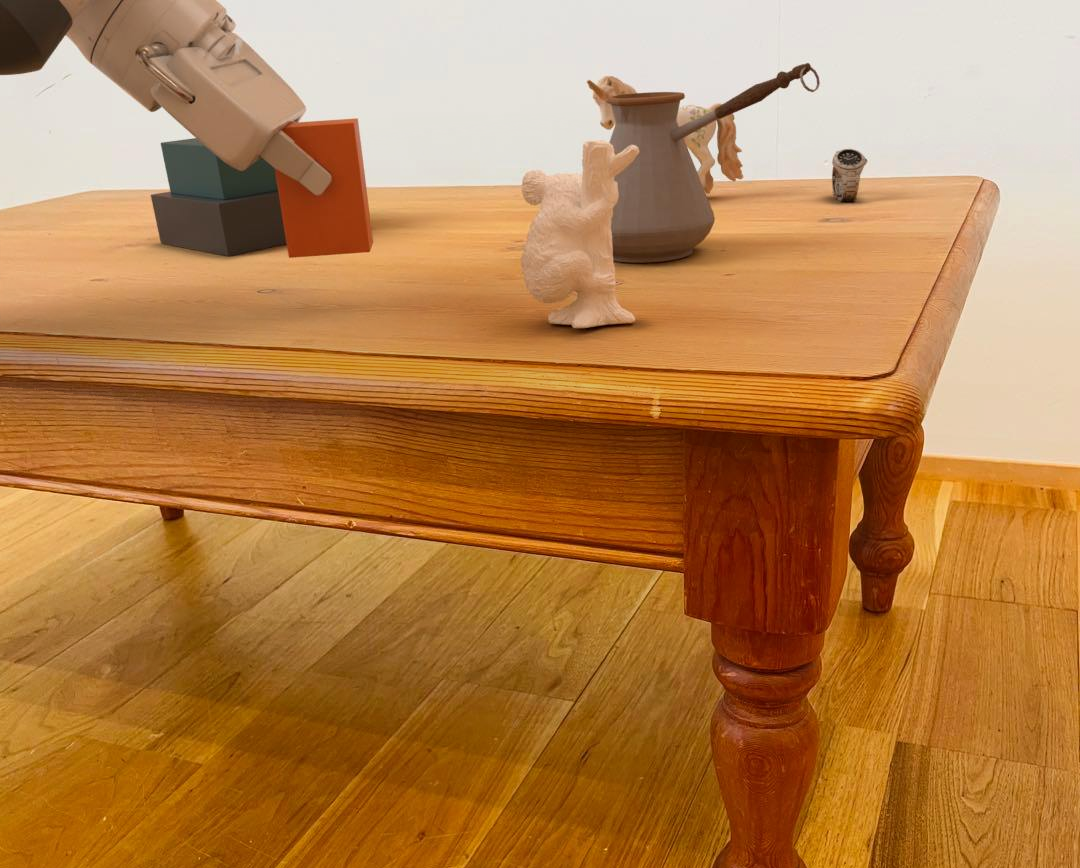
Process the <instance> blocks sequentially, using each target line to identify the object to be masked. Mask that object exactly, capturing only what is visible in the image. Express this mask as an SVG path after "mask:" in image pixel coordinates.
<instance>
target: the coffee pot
mask: <svg viewBox="0 0 1080 868" xmlns="http://www.w3.org/2000/svg"><path fill="white" fill-rule="evenodd" d="M809 72H812V73H813V74H814V77H815V78H816V85H815V88H814V89H812V88H810V87H809V86H808V85H807V84H806V83H805V81H804V76H805V75H807V74H808V73H809ZM799 79H800V83H801V84H802V87H803V88H804V89H805V90H806V91H807V92H811V93H815V92H816V91H817V90H819V87H820V84H821V83H820V76H819V75H818V72H817V71H816V70H815V69H814V68H813V66H812V65H811V64H810V63H809V62H806V63H804V64H803V63H802V64H798V65H796V66H794V67H792V69H791V70H790V71H787V72H786V71H779V72H778V73H777V75H776V77H774V78H772V79H767V80H765V81H763V82H759V83H756V84H754V85H752V86H751V87H749V88H747V89H746V90H744V91H742V92H741V93H738V94H737V95H736V96H734V97H732V98H731V99H729V100H727V101H725V102H723V103H721V104H722V105H721V106H719V107H717V108H716V109H715V110H713V111H711V112H709V113H707V114H705V115H703V116H701V117H699V118H697V119H695V120H693V121H691V122H688V123H686V124H684V125H682V126H680V127H679V126H678V123H677V114H678V109H679V107H680V104H681V101H682V100H684V99H685V98H686V95H685V93H684V92H680V91H679V92H677V91H653V92H651V91H650V92H649V91H648V92H637V93H634V94H625V95H617V96H612V97H608V98H607V103H609V104H611V106H612V110H613V114H614V118H615V124H614V126H613V130H612V134H611V136H610V139H609V141H608V142H609V143H610V144H611V145H613V148H614V153H615V155H617V154H619V153H621V152H622V151H623V150H624V149H626V148H627V147H628V146H630V145H635V146H637V147H638V148H639V154H638V155H637V156H636V157H635V159H634V160H633V162H631V163H630V164H629V165H628V166H627V167H626V168H625V169H624V170H623V171H622V172H620V173H619V174H617V175H616V176H615V177H614V178H615V179H614V181H616V182H617V183H618V194H619V197H618V201H617V203H616V205H614V207H613V216H612V218H611V232H612V247H613V262H614V261H615V262H621V263H622V262H623V263H659V262H668V261H674V260H679V259H682V258H685V257H686V258H687V257H688V256H690V255H692V254H693V252H694V251H693V249H694V248H695V247H697V246H699V245H700V244H701V243H702V242H703V241H704V240H705V239H706V238H707V236H708V235H709V234H710V233H711V231H712V228H713V226H714V224H715V220H716V218H715V217H716V216H715V213H714V211H713V208H712V205H711V202H710V201H709V199H708V196H707V193H706V192H705V190H704V188H703V185H702V183H701V180H700V178H699V175H698V173H697V172H698V170H697V168H696V165H695V163H694V161H693V158H692V155H691V152H690V150H689V148H688V147H687V146H686V143H685V141H684V137H686V136H688V135H690V134H692V133H693V132H695V131H697V130H699V129H701V128H702V127H704V126H706V125H708V124H710V123H712V122H713V121H715V120H717V119H721V118H723V117H726V116H728V115H730V114H733V115H734V114H735V113H737V112H739V111H742V110H744V109H747V108H749V107H750V106H753V105H756V104H758V103H760V102H762V101H763V100H765V99H766V98H767V97H769V96H770V95H771V94H773V93H774V92H776V91H777V90H779V89H783V90H784V89H787V88H788V87H789V86H790V84H791V82H793V81H794V80H799Z"/></svg>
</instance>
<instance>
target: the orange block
mask: <svg viewBox="0 0 1080 868" xmlns="http://www.w3.org/2000/svg"><path fill="white" fill-rule="evenodd" d="M359 124H360V123H359V119H358V118H357V117H356V118H343V119H342V118H341V119H328V120H326V119H325V120H313V121H299V122H296V123H290V124H289V125H287V126H286V127H284V128H283V129H281V130H282V131H283V132H284V133H285V134H286V135H288V136H289V137H290V138H291V139H292V140H293V141H294V143H295V144H296V145H297V146H298V147H300V148H301V149H302V150H303V151H304V152H306V153H307V154H308V155H309V156H310V157H312V158H313V159H314V160H315V159H316V160H317V161H319V162H320V163H321V164H322V165H323V166H324V167H325V168H327V169H328V170H329V171H330V172H331V173H332V175H333V179H332V182H331V183H330V184H329V186H328V187H327V188H326V189H325V191H324V192H323V193H322V194H321V195H314V194H313V193H312V192H310V191H309V190H308V189H307V188H306V187H304V186H303V185H302V184H301V183H300V182H298V181H296V180H294V179H293V178H291V177H289V176H287V175H286V174H284V173H282V172H280V171H279V170H277V169H275V173H276V180H277V186H278V192H279V199H280V205H281V211H282V218H283V224H284V230H285V237H286V243H287V244H286V248H287V256H288V258H289V259H292V258H293V259H294V258H305V257H319V256H321V257H323V256H333V255H335V256H336V255H347V254H363V253H364V254H365V253H370V252H371V250H372V247H373V244H374V237H373V231H372V221H371V214H370V205H369V198H368V191H367V190H368V187H367V183H366V182H367V181H366V173H365V165H364V157H363V149H362V141H361V131H360V125H359Z"/></svg>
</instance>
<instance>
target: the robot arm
mask: <svg viewBox="0 0 1080 868" xmlns="http://www.w3.org/2000/svg"><path fill="white" fill-rule="evenodd" d="M227 12H228V11H227V8H226V7H224V6H223V5H222V4H221V3H220V2H219V1H217V0H0V76H14V75H24V74H29V73H34V72H38V71H41V70H42V69H43V68H44V66H45V64H46V63H47V62H48V60H49V59H50V58H51V56H52V55H53V54H54V52H55V50H56V49H57V48H58V46H59V45H60V44H61V42H62V41H63V39H64V38H65V37H67V38H68V39H69V40H70V41H71V42H72V44H74V45H75V46H76V48H77V49H78V50H79V53H81V55H82V56H83V57H84V58H85V60H86V61H88V63H90V64H91V65H92V66H93V67H94V68H96V69H97V70H98V71H99V72H100V73H102V74H103V75H104V76H105V77H107V79H109V80H110V81H112V82H113V83H114V84H115V85H116V86H118V87H119V88H120V89H121V90H122V91H124V92H125V93H126V94H127V95H128V96H130V97H131V98H132V99H134V100H135V101H136V102H137V103H139V104H140V105H141V106H142V107H143V108H145V109H146V110H147V111H148V112H150V113H154V112H157V111H158V110H160V109H161V108H162V109H163V110H165V112H166V113H167V114H169V115H170V116H171V117H172V118H173V119H174V120H175V121H176V122H177V123H178V124H179V125H181V126H182V127H183V128H184V129H185V130H186V131H187V132H188V133H190V134H191V135H192V136H193V137H194V138H197V139H198V140H199V141H200V142H201V143H202V144H204V145H205V146H206V147H207V148H208V149H209V150H210V151H212V152H213V153H214V154H215V155H216V156H217V157H219V158H220V159H221V160H223V161H224V162H225V163H227V164H228V165H230V166H232V167H233V168H235V169H237V170H240V171H243V170H245V169H247V168H248V167H249V166H251V165H252V164H253V163H255V162H256V161H257V160H259V159H260V158H261V157H262V158H263V159H264V160H266V161H267V162H268V163H269V164H270V165H271V166H273V167H274V168H275V169H277V170H279V171H280V172H282V173H284V174H286V175H287V176H289V177H291V178H293V179H294V180H296V181H298V182H300V183H301V184H302V185H303V186H304V187H306V188H307V189H308V190H309V191H310V192H312V193H313V194H314V195H321V194H322V193H323V192H324V191H325V189H326V188H327V187H328V186H329V184H330V183H331V182H332V179H333V175H332V173H331V172H330V171H329V170H328V169H327V168H325V167H324V166H323V165H322V164H321V163H320V162H319V161H317V160H316V159H315V160H314V159H313V158H312V157H310V156H309V155H308V154H307V153H306V152H304V151H303V150H302V149H301V148H300V147H298V146H297V145H296V144H295V143H294V141H293V140H292V139H291V138H290V137H289V136H288V135H286V134H285V133H284V132H283V131H282V130H281V129H283V128H284V127H286V126H287V125H289V124H290V123H296V122H300V121H301V119H302V118H303V117H304V116H305V114H306V112H307V107H306V104H305V103H304V102H303V100H302V99H301V98H300V96H299V95H298V94H297V93H296V91H295V90H293V88H292V87H291V86H290V85H289V84H288V83H287V82H286V81H285V80H284V79H283V78H282V77H281V75H279V74H278V73H277V71H275V69H273V68H272V67H271V66H270V65H269V64H268V62H267V61H266V60H265V59H263V58H262V57H261V55H259V54H258V52H257V51H255V49H253V47H251V45H249V44H248V43H247V42H246V41H245V40H243V38H242V37H241V36H240V35H238V34H236V33H234V31H235V29H236V26H237V24H236V22H235V20H234V19H233V18H231V17H230V16H229V15H228V13H227Z"/></svg>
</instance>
